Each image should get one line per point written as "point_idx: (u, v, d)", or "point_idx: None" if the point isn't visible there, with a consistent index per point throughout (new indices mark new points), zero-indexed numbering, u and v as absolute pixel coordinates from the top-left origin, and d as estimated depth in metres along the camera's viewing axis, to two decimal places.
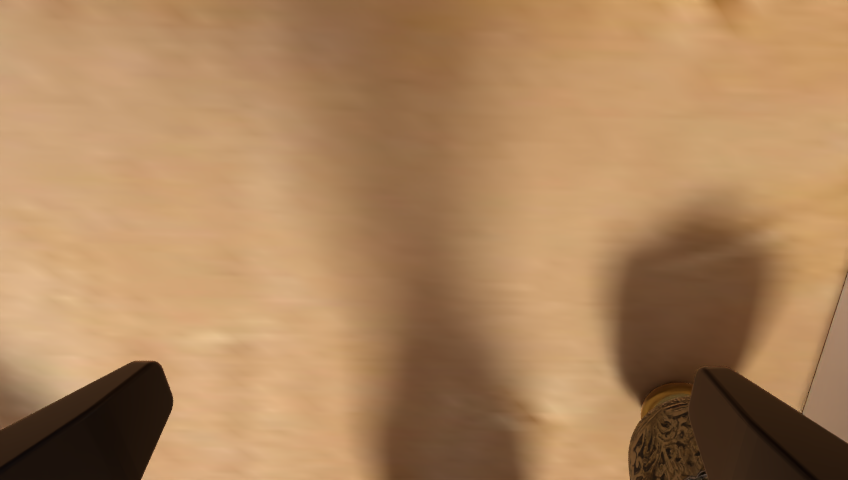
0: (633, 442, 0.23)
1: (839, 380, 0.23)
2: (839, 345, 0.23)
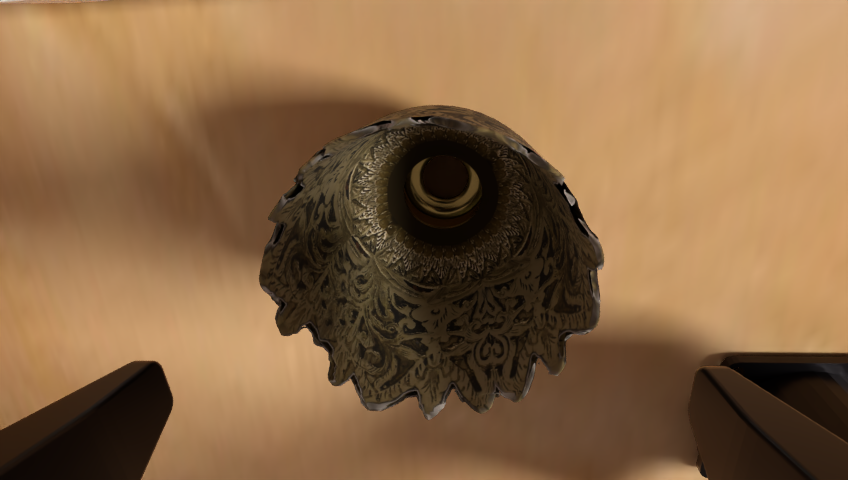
0: (415, 301, 0.16)
1: None
2: None
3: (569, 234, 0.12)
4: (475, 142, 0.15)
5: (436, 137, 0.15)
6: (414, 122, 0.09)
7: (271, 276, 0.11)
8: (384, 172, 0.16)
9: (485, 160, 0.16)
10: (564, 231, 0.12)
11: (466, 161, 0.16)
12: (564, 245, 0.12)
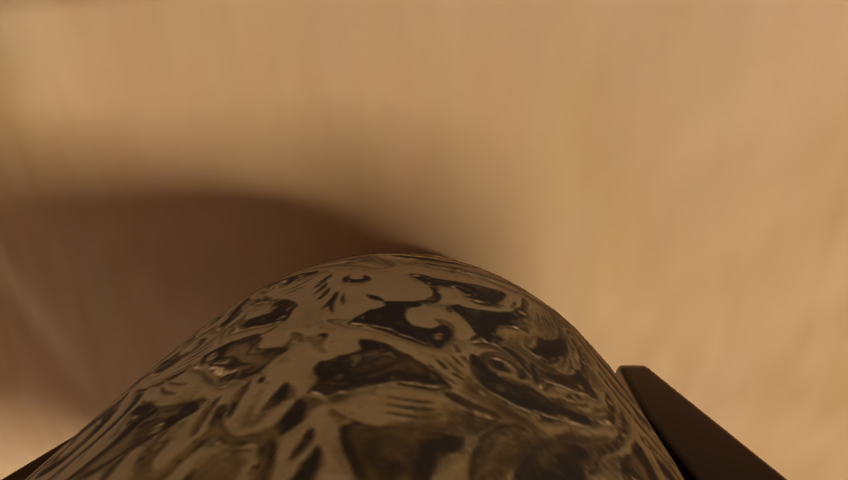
0: None
1: None
2: None
3: None
4: None
5: None
6: None
7: None
8: None
9: None
10: None
11: None
12: None
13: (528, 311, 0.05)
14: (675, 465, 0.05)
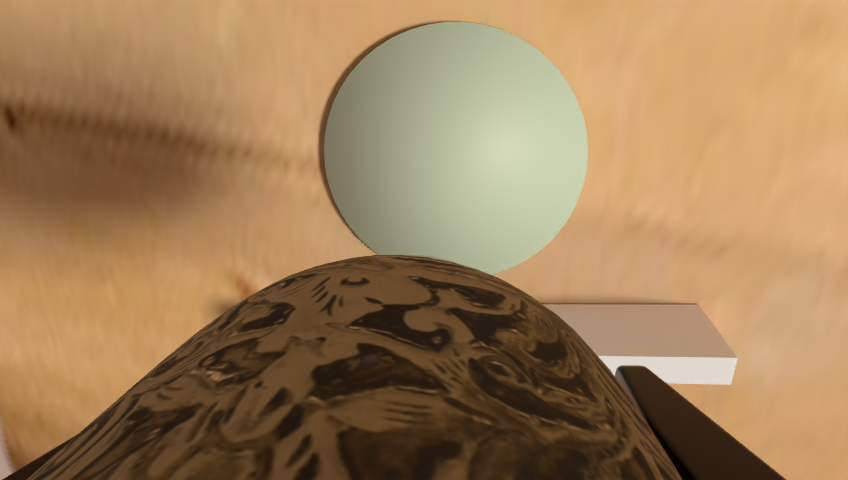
0: None
1: None
2: None
3: None
4: None
5: None
6: None
7: None
8: None
9: None
10: None
11: None
12: None
13: (527, 314, 0.05)
14: (675, 468, 0.05)
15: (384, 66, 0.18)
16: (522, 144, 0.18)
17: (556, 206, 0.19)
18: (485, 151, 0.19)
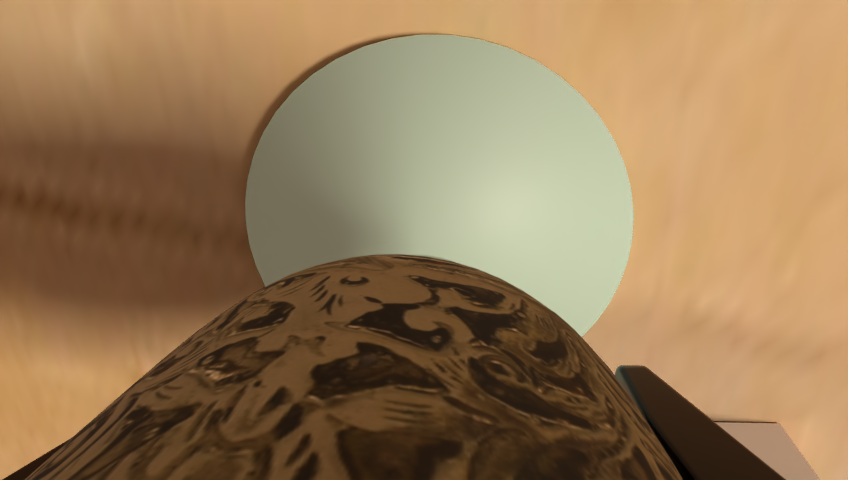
0: None
1: None
2: None
3: None
4: None
5: None
6: None
7: None
8: None
9: None
10: None
11: None
12: None
13: (527, 313, 0.05)
14: (675, 468, 0.05)
15: (326, 102, 0.12)
16: (535, 214, 0.12)
17: (583, 299, 0.13)
18: (480, 223, 0.13)
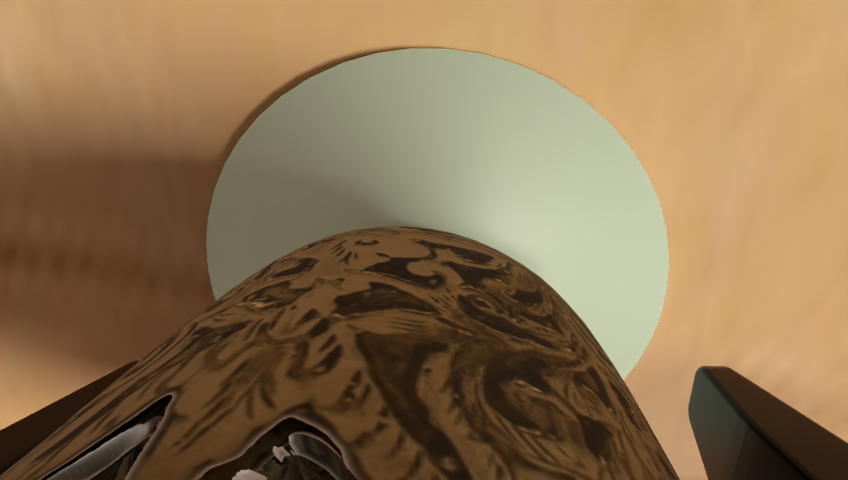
0: None
1: None
2: None
3: None
4: None
5: None
6: None
7: None
8: None
9: None
10: None
11: None
12: None
13: (512, 271, 0.06)
14: (632, 396, 0.06)
15: (299, 129, 0.10)
16: (551, 262, 0.10)
17: None
18: None
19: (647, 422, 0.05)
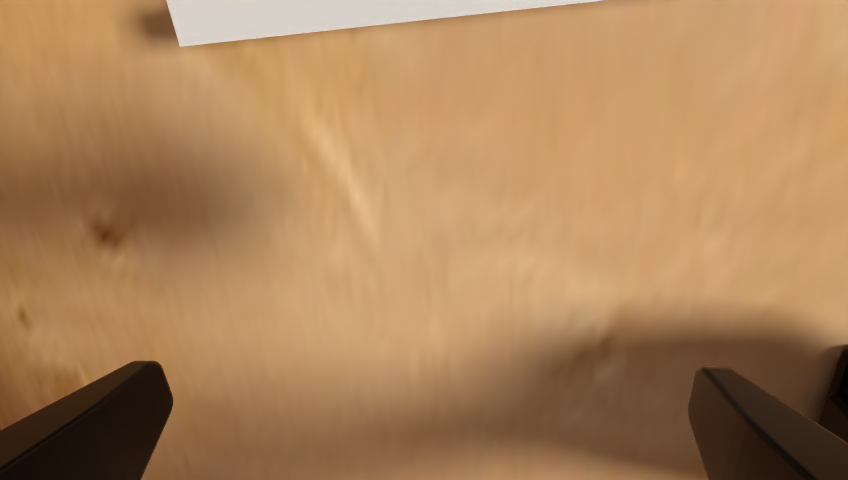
0: None
1: None
2: None
3: None
4: None
5: None
6: None
7: None
8: None
9: None
10: None
11: None
12: None
13: None
14: None
15: None
16: None
17: None
18: None
19: None
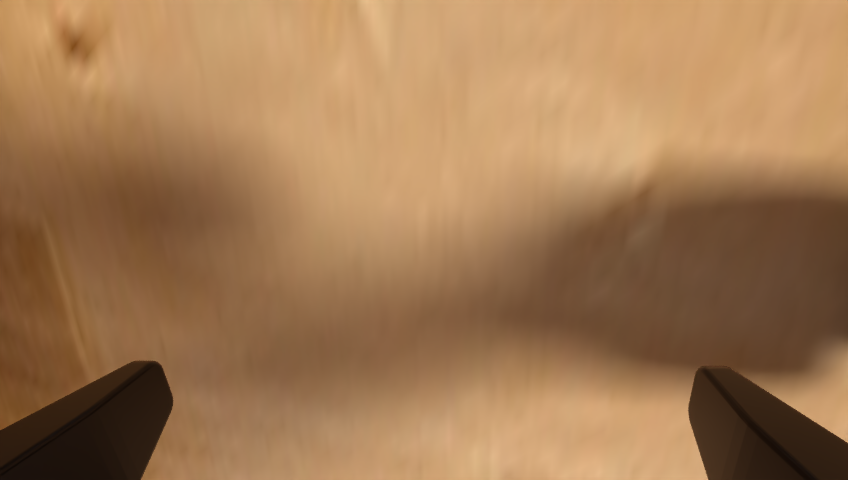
0: None
1: None
2: None
3: None
4: None
5: None
6: None
7: None
8: None
9: None
10: None
11: None
12: None
13: None
14: None
15: None
16: None
17: None
18: None
19: None
